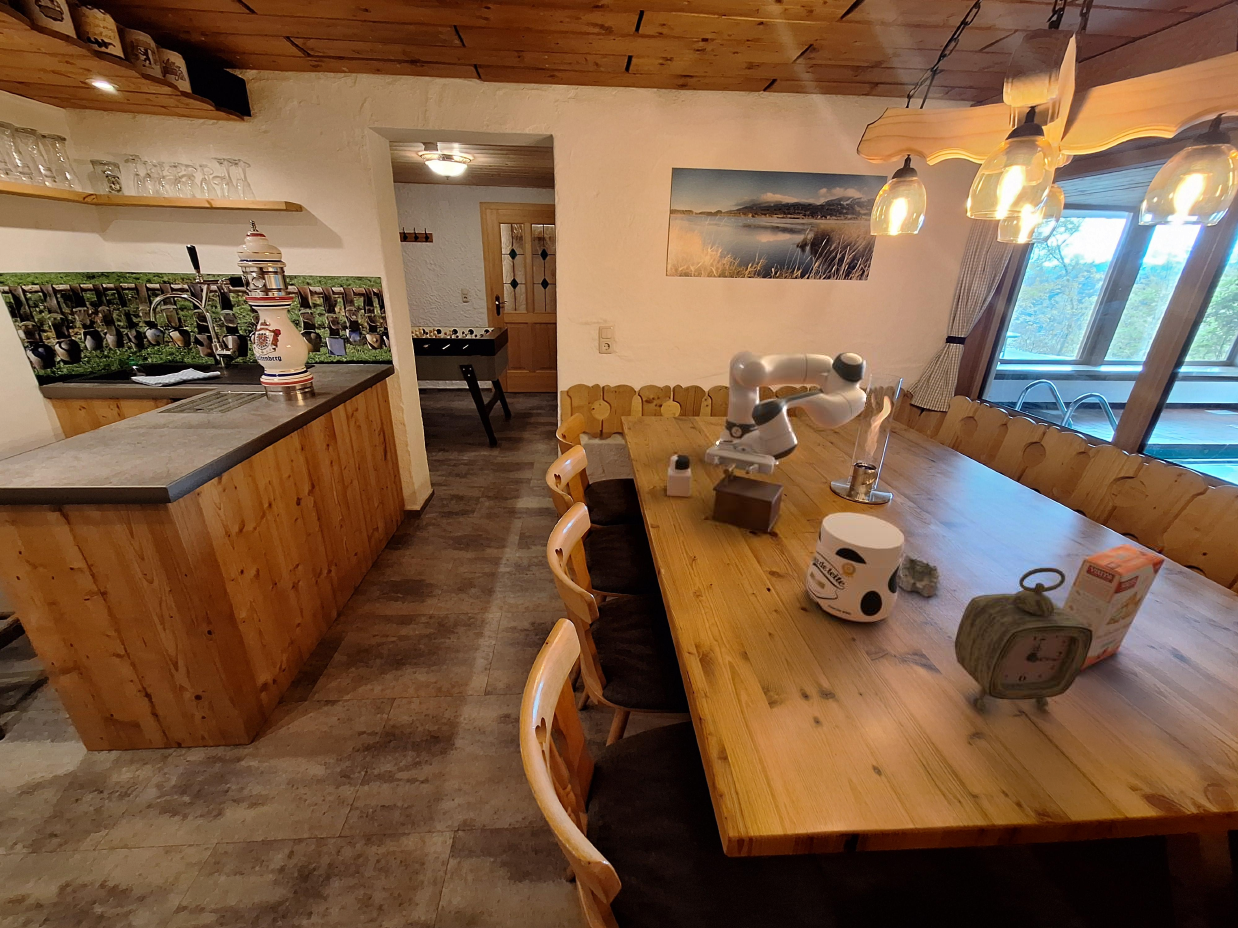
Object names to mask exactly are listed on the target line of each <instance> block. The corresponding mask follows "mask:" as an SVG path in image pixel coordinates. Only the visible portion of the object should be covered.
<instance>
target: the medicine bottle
mask: <svg viewBox="0 0 1238 928" xmlns="http://www.w3.org/2000/svg"><path fill="white" fill-rule="evenodd" d="M669 464H670V465H669V466H668V468H667V481H666V495H667V496H670V497H684V498H685V497H686V498H687V497H691V487H692V485H691V484H692V469H691V467H690V465H691V458H690V457H688V456H687V455H684V454H675V455H672V456H671V457H670V463H669Z"/></svg>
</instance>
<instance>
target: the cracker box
mask: <svg viewBox="0 0 1238 928" xmlns="http://www.w3.org/2000/svg"><path fill="white" fill-rule="evenodd" d="M1165 561H1166V559H1165V558H1163V557H1161V556H1159V555H1157V554H1154V553H1152V552H1148V551H1146V550H1143V549H1140V548H1138V547H1136V546H1133V545H1131V544H1127V543H1123V544H1121V545H1119V546H1115V547H1112V548H1110V549H1107V550H1103V551H1102V552H1099V553H1096V554H1093V555H1091V556H1087V557H1084V558H1083V560H1082V562H1081V564H1080V567H1079V569H1078V571H1077V573H1076V576H1075V577H1074V580H1073V582H1072V585H1071V587H1070V589H1069V591H1068V594H1067V596H1066V598H1065V600H1064V602H1063V605H1062V606H1061V609H1063V610H1064V611H1066V612H1067V613H1069V614H1070V615H1071V616H1073V617H1074V618H1076V619H1077V620H1078V621H1080V622H1081V623H1083V624H1084V625H1085V626H1087V627H1088V628H1090V629H1091V630H1092V642H1091V646H1090V649H1089V652H1088V655H1087V657H1086V660H1085V663H1084V665H1083V666H1082V668H1081V670H1080V671H1082V670H1084V669H1086V668H1088V667H1090V666H1092V665H1094V664H1096V663H1097V662H1099V661H1102V660H1104V659H1106V658H1107V657H1109V656H1111V655H1114V654H1116V653H1117V652H1118V651H1119V649H1120V647H1121V645H1122V643H1123V641H1124V639H1125V637H1126V636H1127V634H1128V631H1130V630H1129V629H1130V628H1131V626H1132V624H1133V622H1134V620H1135V618H1136V616H1137V615H1138V612H1139V611H1140V608H1141V607H1142V604H1143V602H1144V601H1145V599H1146V597H1147V595H1148V593H1149V591H1150V589H1151V587H1152V585H1153V583H1154V582H1155V580H1156V578H1157V576H1158V574H1159V572H1160V570H1161V568H1162V566H1163V564H1165V563H1164V562H1165Z"/></svg>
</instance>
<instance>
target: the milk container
mask: <svg viewBox="0 0 1238 928" xmlns="http://www.w3.org/2000/svg"><path fill="white" fill-rule="evenodd" d="M904 549H905V534H904V533H903V532H902V531H901V530H900V529H899V528H898V527H897V526H895V525H893V524H892V523H890V522H888V521H886V520H883V519H881V518H878V517H875V516H872V515H868V514H865V513H864V514H863V513H856V512H835V513H831V514H828V515H827V516H825V517H824V518H823V519H822V522H821V525H820V529H819V533H818V538H817V541H816V550H815V554H814V557H813V559H812V561H811V562H810V564H809V566H808V569H807V572H806V577H805V579H806V580H805V583H806V584H805V585H806V586H805V587H806V591H807V594H808V595H809V598H810V600H811V601H812V602H813V603H814V604H815V605H816V606H817V607H818V608H819V609H821V610H823V611H825V612H826V613H827V614H830V615H831V616H832V617H836V618H839V619H841V620H844V621H847V622H848V621H849V622H854V623H858V624H859V623H860V624H861V623H864V624H865V623H876V622H879V621H882V620H884V619H885V618H887V617H888V616H889V615H890V613H891V612H892V610H893V609H894V608H895V604H896V603H897V599H898V582H897V580H898V579H897V578H898V573H899V571H900V567H901V564H902V557H903V555H904V551H905V550H904Z"/></svg>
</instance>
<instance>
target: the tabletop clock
mask: <svg viewBox="0 0 1238 928" xmlns="http://www.w3.org/2000/svg"><path fill="white" fill-rule="evenodd" d="M1040 573H1053V574H1054V573H1055V574H1057V575H1058V576H1060V580H1059V582H1057V583H1055V584H1052V585H1050V586H1045V584H1044V583H1041V582H1037V583H1035V585H1034V587H1030V586H1026V585H1025V584H1024V582H1025V580H1026V579H1027V578H1029V577H1030V576H1033V575H1036V574H1040ZM1065 581H1066V574H1065V573H1064V572H1063V571H1062V570H1061V569H1058V568H1055V567H1038V568H1033V569H1031V570H1029V571H1027V572H1025V573H1024V574H1023V575H1022V576H1021V577H1020V579H1019V582H1018V583H1019V584H1018V585H1019V587H1020V588H1021V589H1022V590H1018V591H1017V592H1015V593H994V594H992V593H991V594H981V595H977V596H975V597H972V598H971V599H970V601H969V602H968V604H967V606H965V609H964V611H963V614H962V616H961V619H960V621H959V624H958V628H957V632H956V635H955V639H954V651H955V657H956V662H957V663H958V664H959V665H960V666H961V667H962V668H963V669H964V670H965V671H966V673H968V675H969V676H970V677H971V678H972V679H973V680H974V681H975V682H976V683H977V684H978V686H980V688H981V689H980V693H979V697H975V698H974V699H973V701H972V702H973V706H974V707H975V708H976V709H978V710H983V709H985V708H986V701H985V700H984V699H985V697H986V696H987V695H988V696H989V697H991V698H994V699H999V700H1020V701H1027V700H1035V703H1036V705H1038V707H1041V708H1046V707H1048V706H1049V701H1048V699H1047V698H1054V697H1057V696H1060V695H1064V694H1065V693H1066V692H1067V690H1069V689H1070V687H1072V685H1073V684H1074V682H1075V681H1076V678H1078V676H1079V673H1080V672H1081V671H1082V670H1081V668H1082V666H1083V665H1084V663H1085V660H1086V657H1087V655H1088V652H1089V649H1090V646H1091V642H1092V630H1091V629H1090V628H1088V627H1087V626H1085V625H1084V624H1083V623H1081V622H1080V621H1078V620H1077V619H1076V618H1074V617H1073V616H1071V615H1070V614H1069V613H1067V612H1066V611H1064V610H1063V609H1062V607H1060V606H1059V605H1058V604H1056V603H1055V602H1053V600H1052V599H1051V598H1050V596H1048V595H1047V594H1046V593H1047V592H1051V591H1054V590H1058V588H1060V587H1061V586H1062V585H1063V584H1065Z"/></svg>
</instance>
